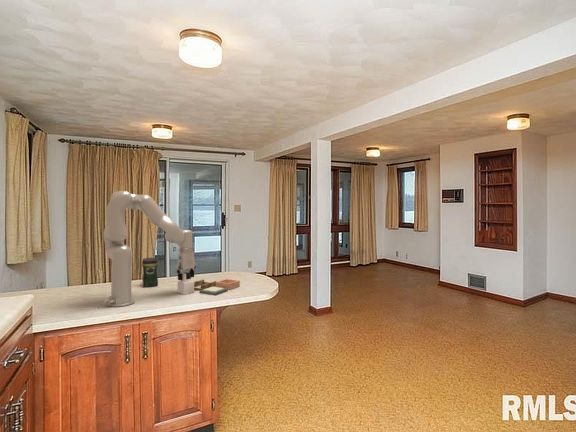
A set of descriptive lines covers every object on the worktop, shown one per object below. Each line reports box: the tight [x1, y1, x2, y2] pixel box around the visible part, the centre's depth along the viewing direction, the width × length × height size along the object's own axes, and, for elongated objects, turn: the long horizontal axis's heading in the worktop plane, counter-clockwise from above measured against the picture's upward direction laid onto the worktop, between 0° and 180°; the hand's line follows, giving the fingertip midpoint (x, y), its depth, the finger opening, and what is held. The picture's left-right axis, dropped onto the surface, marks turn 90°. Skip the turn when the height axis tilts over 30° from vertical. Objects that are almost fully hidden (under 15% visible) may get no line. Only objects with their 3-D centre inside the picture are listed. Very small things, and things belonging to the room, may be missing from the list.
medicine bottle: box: [177, 272, 195, 295], centre depth 203 cm, size 7×7×12 cm
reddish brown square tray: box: [215, 278, 241, 291], centre depth 218 cm, size 11×11×4 cm
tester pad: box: [203, 286, 224, 292], centre depth 205 cm, size 9×9×1 cm
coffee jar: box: [141, 257, 159, 288], centre depth 220 cm, size 10×8×19 cm
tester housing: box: [199, 288, 229, 296], centre depth 205 cm, size 12×12×2 cm
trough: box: [194, 279, 217, 292], centre depth 218 cm, size 17×12×3 cm
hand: (186, 278), depth 203 cm, fingers open, 9 cm apart
